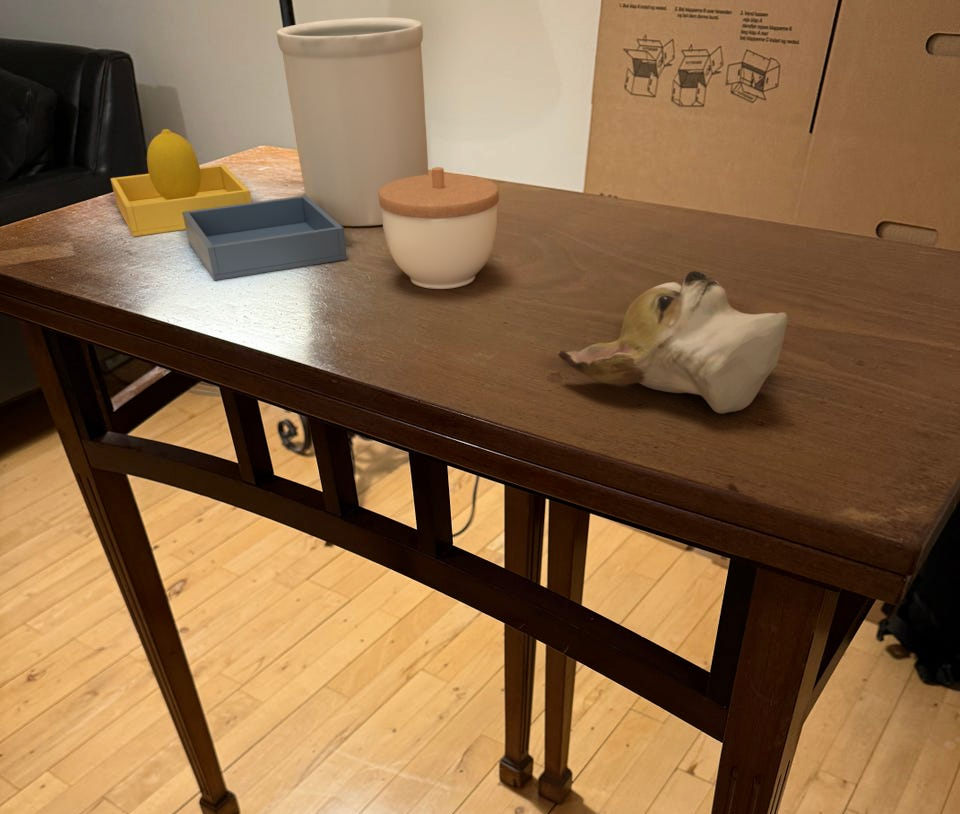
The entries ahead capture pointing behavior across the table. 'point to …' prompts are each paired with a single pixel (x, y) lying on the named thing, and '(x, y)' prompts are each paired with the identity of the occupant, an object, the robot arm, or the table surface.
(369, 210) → the utensil holder
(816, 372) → the table surface
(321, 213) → the blue tray
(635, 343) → the ceramic sculpture
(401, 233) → the trinket box
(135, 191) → the yellow tray
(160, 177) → the lemon
